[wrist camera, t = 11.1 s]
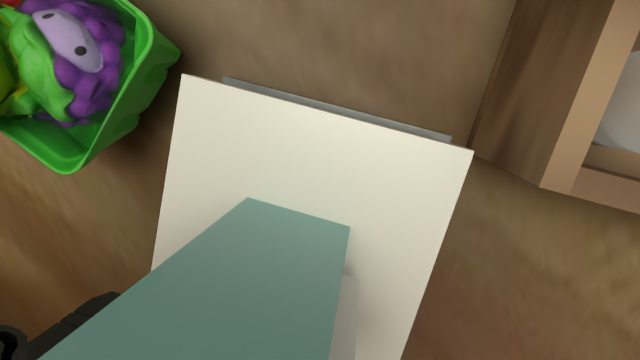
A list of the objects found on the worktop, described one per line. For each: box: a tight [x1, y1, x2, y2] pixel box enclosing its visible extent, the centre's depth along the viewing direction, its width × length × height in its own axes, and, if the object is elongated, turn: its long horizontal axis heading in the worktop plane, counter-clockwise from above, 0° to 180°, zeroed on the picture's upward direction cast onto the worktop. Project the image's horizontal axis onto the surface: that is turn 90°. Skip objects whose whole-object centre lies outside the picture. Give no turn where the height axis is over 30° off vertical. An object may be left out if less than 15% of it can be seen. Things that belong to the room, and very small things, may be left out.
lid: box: [37, 74, 475, 360], centre depth 10 cm, size 13×11×14 cm
